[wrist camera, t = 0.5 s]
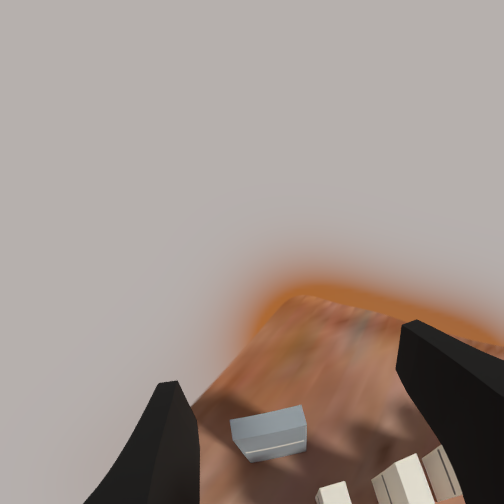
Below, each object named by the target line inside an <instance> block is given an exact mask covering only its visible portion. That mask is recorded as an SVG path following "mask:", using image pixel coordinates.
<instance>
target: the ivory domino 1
mask: <svg viewBox="0 0 504 504" xmlns="http://www.w3.org/2000/svg"><path fill="white" fill-rule="evenodd" d="M315 499H316V503H317V504H351V500H350V497H349V493H348V490H347V487H346V483H345V481H342V482H339V483H336V484H332V485H329V486H325V487H322V488H319V490H318V492H317V494H316V496H315Z"/></svg>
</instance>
